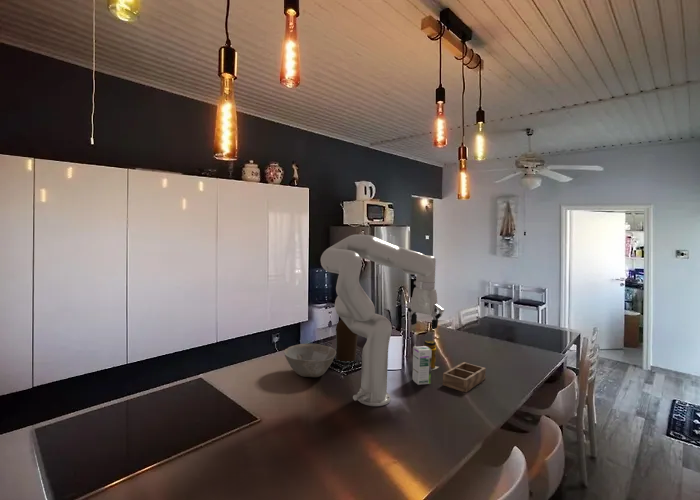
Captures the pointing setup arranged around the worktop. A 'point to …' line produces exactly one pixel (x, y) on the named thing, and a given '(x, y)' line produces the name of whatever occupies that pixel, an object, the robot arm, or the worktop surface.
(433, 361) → the condiment
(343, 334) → the olive oil
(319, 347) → the ceramic bowl
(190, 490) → the worktop surface
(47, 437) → the worktop surface
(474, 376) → the box
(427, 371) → the syrup box
